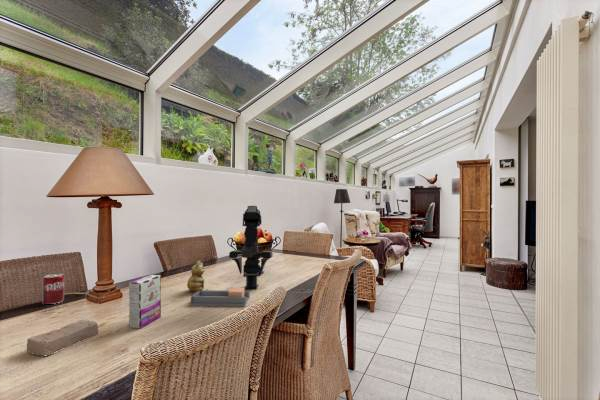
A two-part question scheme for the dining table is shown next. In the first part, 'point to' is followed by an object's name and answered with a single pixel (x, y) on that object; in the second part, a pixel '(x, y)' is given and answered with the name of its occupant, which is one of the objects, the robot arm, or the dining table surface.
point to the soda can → (53, 289)
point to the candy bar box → (144, 301)
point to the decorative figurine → (196, 277)
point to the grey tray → (218, 299)
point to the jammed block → (236, 292)
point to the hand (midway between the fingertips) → (250, 273)
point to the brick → (61, 337)
